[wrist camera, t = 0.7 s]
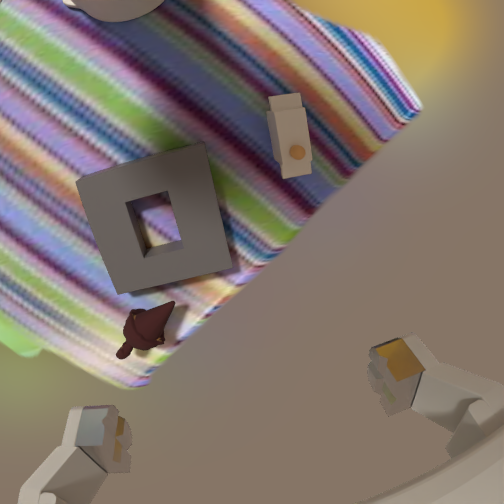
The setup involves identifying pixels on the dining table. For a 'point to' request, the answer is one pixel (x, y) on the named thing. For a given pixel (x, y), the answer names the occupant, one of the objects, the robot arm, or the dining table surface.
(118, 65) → the dining table surface
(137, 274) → the grey board with hole
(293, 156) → the servo
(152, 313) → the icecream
